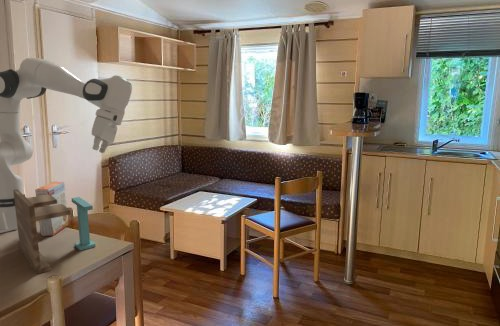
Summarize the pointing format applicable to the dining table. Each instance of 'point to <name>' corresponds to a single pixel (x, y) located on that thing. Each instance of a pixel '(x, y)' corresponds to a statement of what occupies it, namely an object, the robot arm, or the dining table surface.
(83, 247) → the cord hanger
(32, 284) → the dining table surface
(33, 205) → the wall shelf
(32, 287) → the dining table surface
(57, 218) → the cracker box
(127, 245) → the dining table surface
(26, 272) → the dining table surface
